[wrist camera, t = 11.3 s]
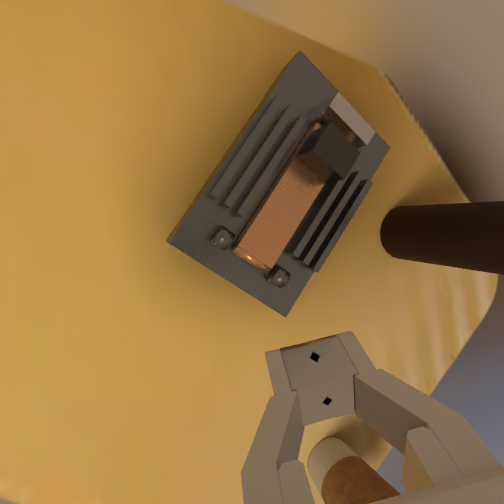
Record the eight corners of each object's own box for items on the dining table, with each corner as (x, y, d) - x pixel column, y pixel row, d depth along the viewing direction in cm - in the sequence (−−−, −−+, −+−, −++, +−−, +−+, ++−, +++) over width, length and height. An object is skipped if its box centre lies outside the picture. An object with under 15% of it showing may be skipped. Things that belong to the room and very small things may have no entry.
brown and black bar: (281, 280, 25) (367, 142, 26) (244, 255, 23) (337, 111, 25) (262, 273, 29) (338, 152, 30) (230, 250, 27) (311, 126, 29)
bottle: (407, 265, 39) (644, 307, 21) (371, 246, 37) (602, 273, 18) (426, 219, 40) (676, 219, 21) (391, 197, 37) (639, 174, 19)
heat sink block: (273, 308, 33) (302, 328, 27) (166, 240, 28) (171, 246, 22) (370, 153, 36) (417, 139, 29) (285, 65, 31) (320, 27, 25)
